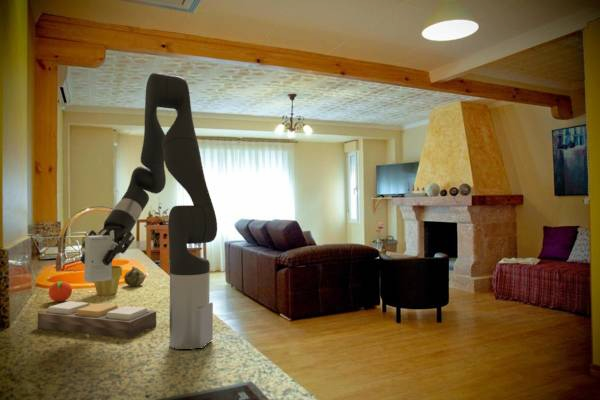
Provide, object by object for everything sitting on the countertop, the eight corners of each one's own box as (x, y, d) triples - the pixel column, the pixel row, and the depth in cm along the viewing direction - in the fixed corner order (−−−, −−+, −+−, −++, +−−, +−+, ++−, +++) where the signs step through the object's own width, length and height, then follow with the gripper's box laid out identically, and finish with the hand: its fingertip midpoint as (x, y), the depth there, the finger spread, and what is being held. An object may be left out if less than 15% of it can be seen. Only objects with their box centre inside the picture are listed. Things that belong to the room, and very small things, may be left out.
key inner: (147, 314, 114) (147, 307, 114) (129, 321, 107) (129, 314, 107) (125, 312, 116) (125, 306, 116) (106, 319, 109) (107, 312, 109)
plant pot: (88, 297, 149) (88, 270, 149) (94, 291, 159) (94, 265, 159) (119, 296, 151) (119, 268, 151) (123, 290, 161) (123, 264, 161)
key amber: (117, 311, 116) (117, 305, 116) (98, 318, 110) (99, 311, 110) (96, 309, 118) (96, 303, 118) (77, 316, 111) (77, 309, 112)
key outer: (89, 309, 119) (89, 302, 119) (69, 315, 112) (69, 308, 112) (69, 307, 121) (69, 301, 121) (48, 313, 114) (48, 306, 114)
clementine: (70, 303, 140) (70, 282, 140) (46, 305, 137) (46, 283, 137) (73, 298, 147) (73, 278, 147) (50, 300, 145) (50, 279, 145)
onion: (149, 285, 172) (149, 265, 172) (132, 288, 165) (132, 268, 165) (137, 283, 176) (137, 264, 176) (120, 286, 169) (120, 266, 169)
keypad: (156, 325, 115) (156, 311, 115) (129, 338, 105) (129, 322, 105) (70, 317, 123) (70, 303, 123) (37, 328, 113) (37, 313, 113)
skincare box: (88, 283, 110) (89, 237, 110) (83, 280, 114) (83, 235, 114) (113, 280, 115) (113, 235, 115) (107, 277, 118) (107, 234, 118)
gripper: (97, 208, 123) (64, 253, 112) (139, 208, 119) (109, 255, 108) (109, 225, 128) (79, 270, 117) (150, 226, 124) (123, 272, 113)
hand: (94, 262), depth 113 cm, fingers closed on skincare box, 6 cm apart
